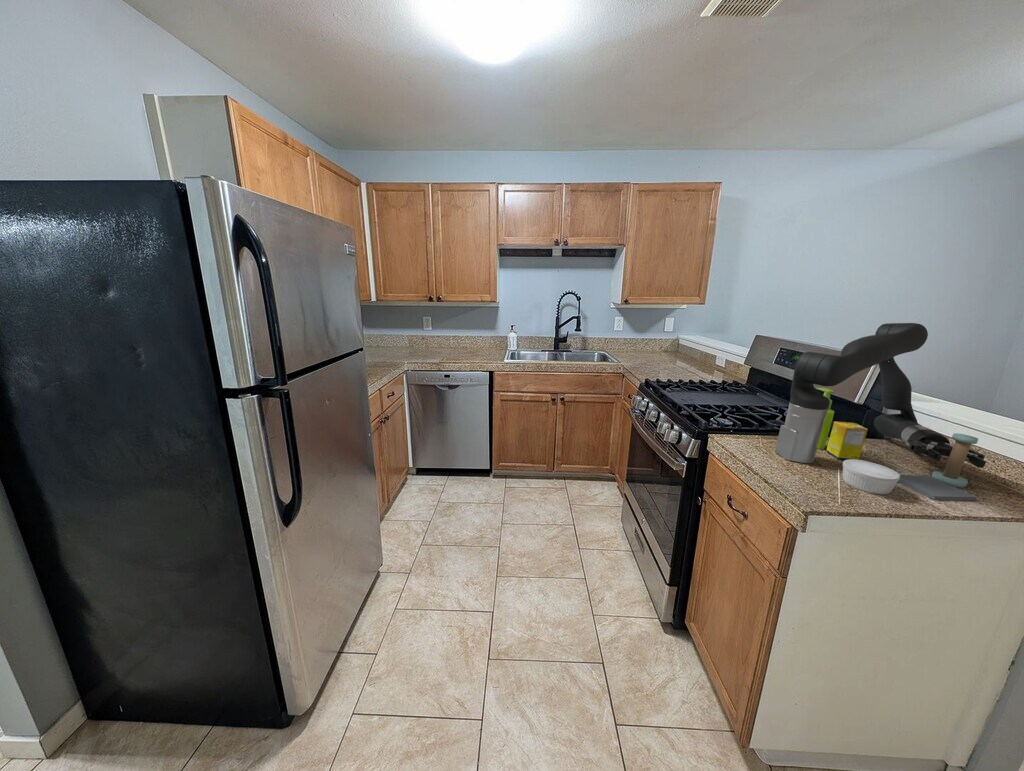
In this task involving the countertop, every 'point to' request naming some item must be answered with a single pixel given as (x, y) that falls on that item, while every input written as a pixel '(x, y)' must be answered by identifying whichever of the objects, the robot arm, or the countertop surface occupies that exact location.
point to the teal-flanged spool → (956, 461)
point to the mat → (934, 488)
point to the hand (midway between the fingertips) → (960, 461)
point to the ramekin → (869, 476)
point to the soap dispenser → (826, 420)
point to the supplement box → (846, 440)
